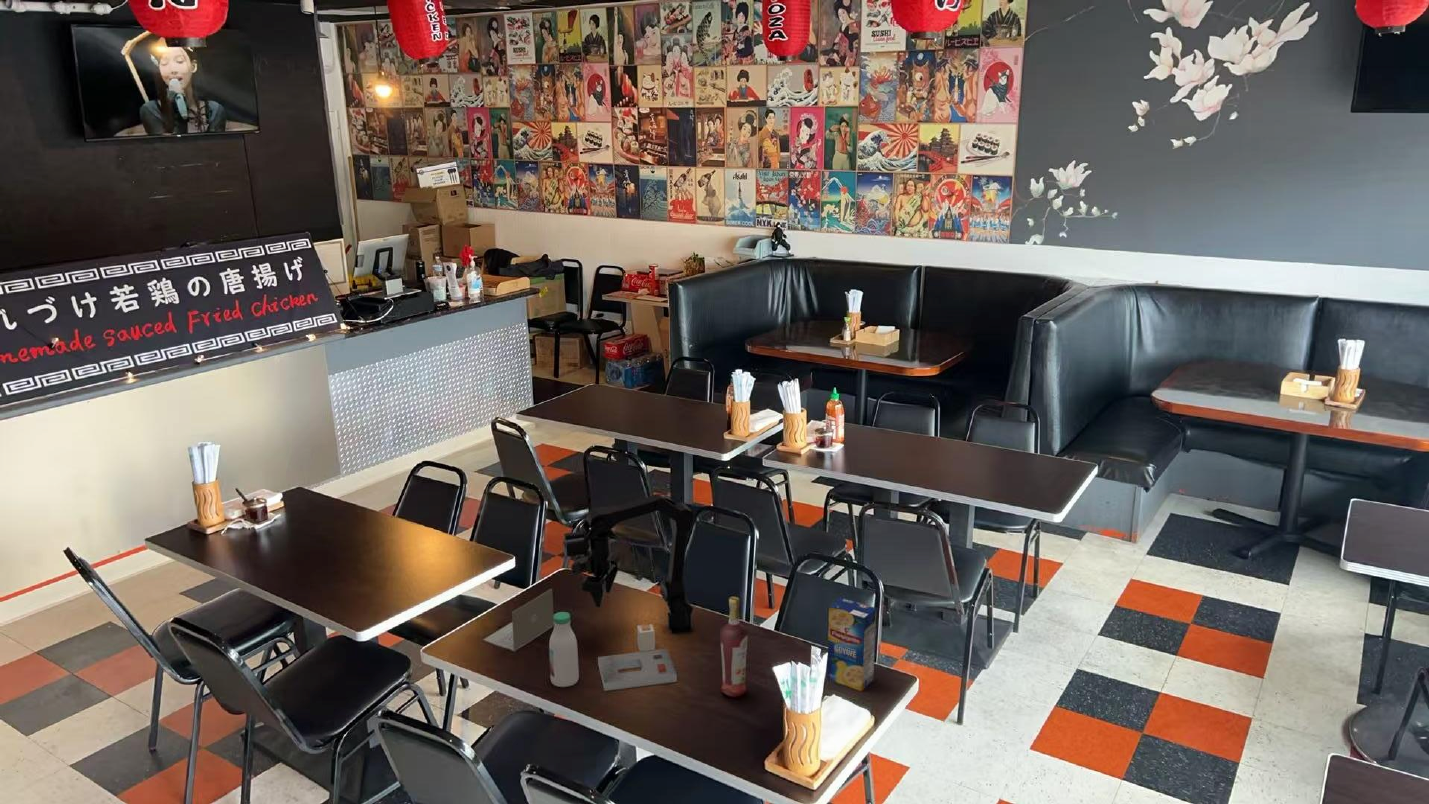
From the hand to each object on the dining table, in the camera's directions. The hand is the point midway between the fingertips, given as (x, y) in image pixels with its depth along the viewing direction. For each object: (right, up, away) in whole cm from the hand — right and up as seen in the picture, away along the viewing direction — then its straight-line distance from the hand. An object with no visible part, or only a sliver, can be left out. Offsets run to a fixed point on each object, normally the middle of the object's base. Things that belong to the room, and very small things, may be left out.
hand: (603, 599), depth 298 cm
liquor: (+38, -21, -24) cm, 49 cm away
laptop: (-26, -12, +8) cm, 30 cm away
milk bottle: (-9, -19, -18) cm, 27 cm away
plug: (+13, -14, 0) cm, 19 cm away
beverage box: (+70, -19, -18) cm, 75 cm away
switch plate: (+11, -18, -14) cm, 25 cm away
